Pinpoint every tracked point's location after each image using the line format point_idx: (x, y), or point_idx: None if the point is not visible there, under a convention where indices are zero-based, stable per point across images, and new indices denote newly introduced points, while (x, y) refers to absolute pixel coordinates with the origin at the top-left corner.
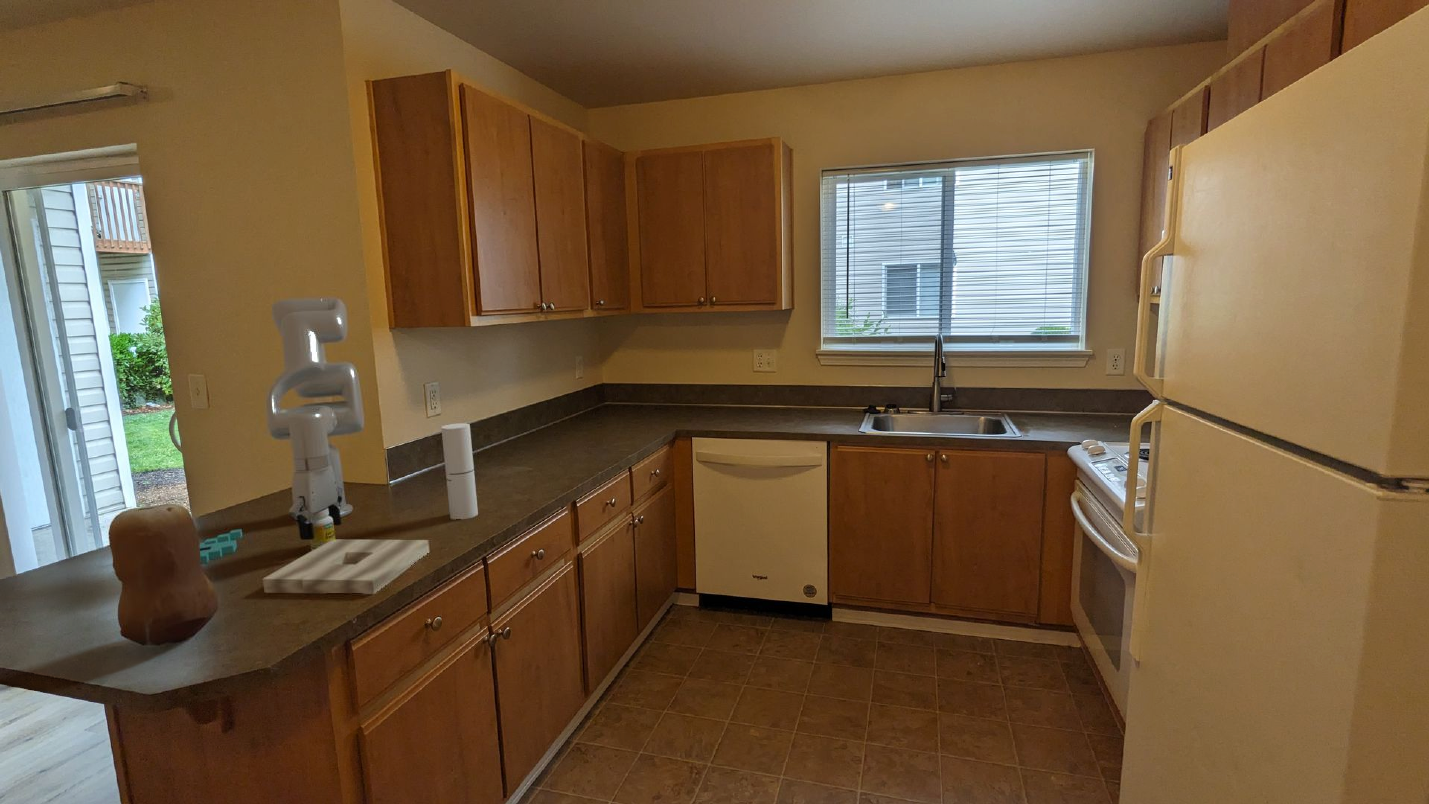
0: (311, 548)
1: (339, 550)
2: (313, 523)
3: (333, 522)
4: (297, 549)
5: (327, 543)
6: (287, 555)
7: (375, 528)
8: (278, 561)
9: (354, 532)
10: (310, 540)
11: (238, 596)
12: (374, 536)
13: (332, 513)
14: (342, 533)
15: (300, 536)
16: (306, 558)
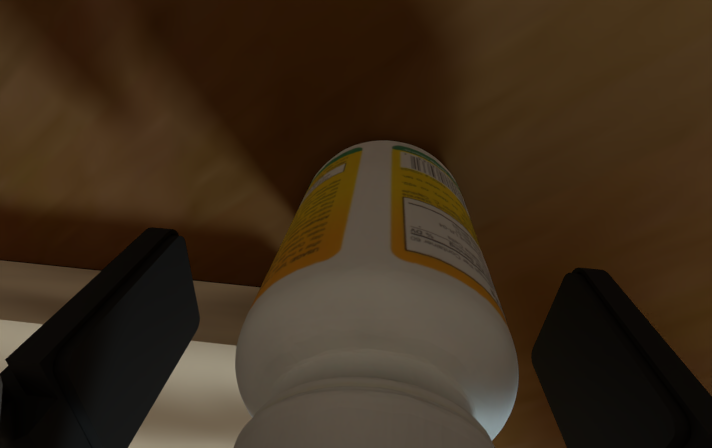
0: (320, 169)
1: (153, 438)
2: (238, 386)
3: (555, 339)
4: (367, 4)
5: (233, 356)
6: (232, 5)
7: (706, 348)
8: (111, 15)
9: (679, 262)
10: (302, 203)
11: None
12: (537, 384)
13: (610, 439)
14: (699, 188)
15: (138, 242)
16: (2, 354)
